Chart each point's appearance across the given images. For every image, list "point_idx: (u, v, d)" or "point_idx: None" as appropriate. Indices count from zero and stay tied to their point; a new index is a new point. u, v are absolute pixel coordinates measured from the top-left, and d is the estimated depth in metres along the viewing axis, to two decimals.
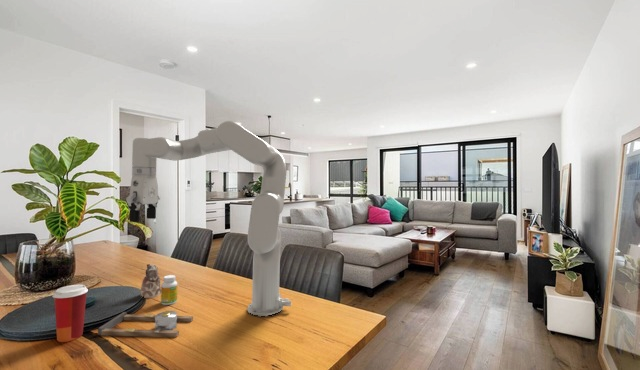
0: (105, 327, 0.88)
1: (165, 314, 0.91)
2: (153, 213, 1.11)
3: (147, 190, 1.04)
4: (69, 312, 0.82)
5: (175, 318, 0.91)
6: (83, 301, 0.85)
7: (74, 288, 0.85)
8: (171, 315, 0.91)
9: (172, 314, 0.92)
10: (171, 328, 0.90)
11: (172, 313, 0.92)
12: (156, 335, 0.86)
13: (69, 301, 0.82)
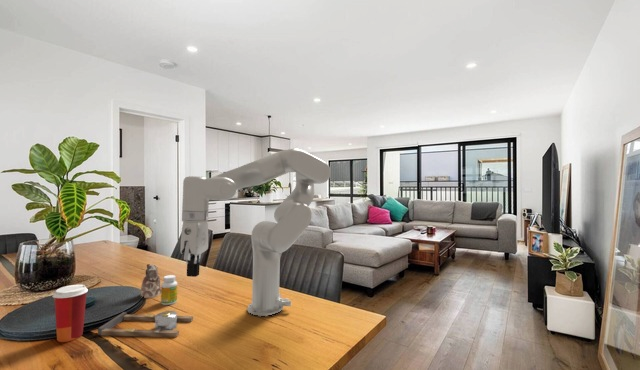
0: (105, 327, 0.88)
1: (165, 314, 0.91)
2: None
3: (200, 238, 0.89)
4: (69, 312, 0.82)
5: (175, 318, 0.91)
6: (83, 301, 0.85)
7: (74, 288, 0.85)
8: (171, 315, 0.91)
9: (172, 314, 0.92)
10: (171, 328, 0.90)
11: (172, 313, 0.92)
12: (156, 335, 0.86)
13: (69, 301, 0.82)
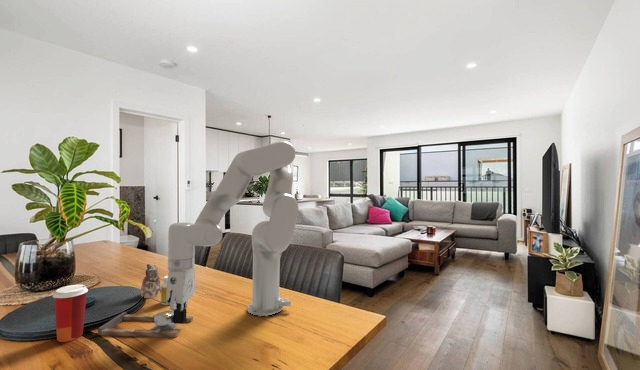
0: (105, 327, 0.88)
1: (164, 314, 0.91)
2: None
3: (186, 286, 0.89)
4: (69, 312, 0.82)
5: None
6: (83, 301, 0.85)
7: (74, 288, 0.85)
8: (170, 315, 0.91)
9: (171, 314, 0.92)
10: (170, 328, 0.90)
11: (171, 313, 0.92)
12: (156, 335, 0.86)
13: (69, 301, 0.82)
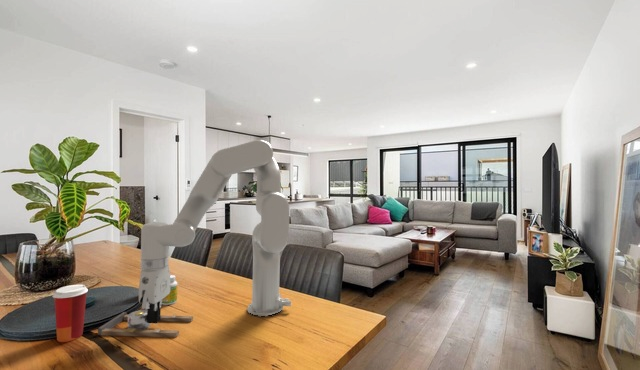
0: (105, 327, 0.88)
1: (138, 313, 0.91)
2: None
3: (159, 286, 0.89)
4: (69, 312, 0.82)
5: None
6: (83, 301, 0.85)
7: (74, 288, 0.85)
8: (144, 314, 0.91)
9: (145, 313, 0.92)
10: (144, 327, 0.90)
11: (145, 312, 0.93)
12: (156, 335, 0.86)
13: (69, 301, 0.82)
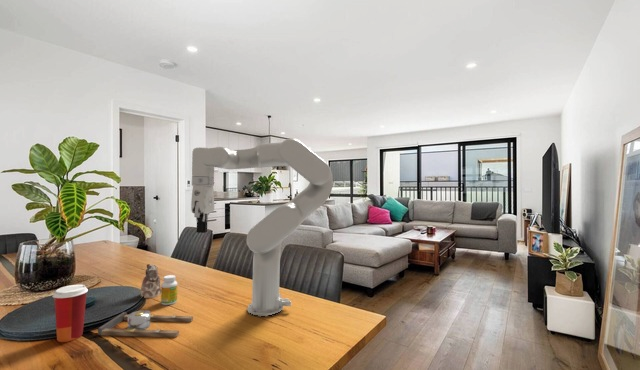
0: (105, 327, 0.88)
1: (138, 313, 0.91)
2: None
3: (207, 199, 1.05)
4: (69, 312, 0.82)
5: (148, 317, 0.91)
6: (83, 301, 0.85)
7: (74, 288, 0.85)
8: (144, 314, 0.91)
9: (145, 313, 0.92)
10: (144, 327, 0.90)
11: (145, 312, 0.93)
12: (156, 335, 0.86)
13: (69, 301, 0.82)
